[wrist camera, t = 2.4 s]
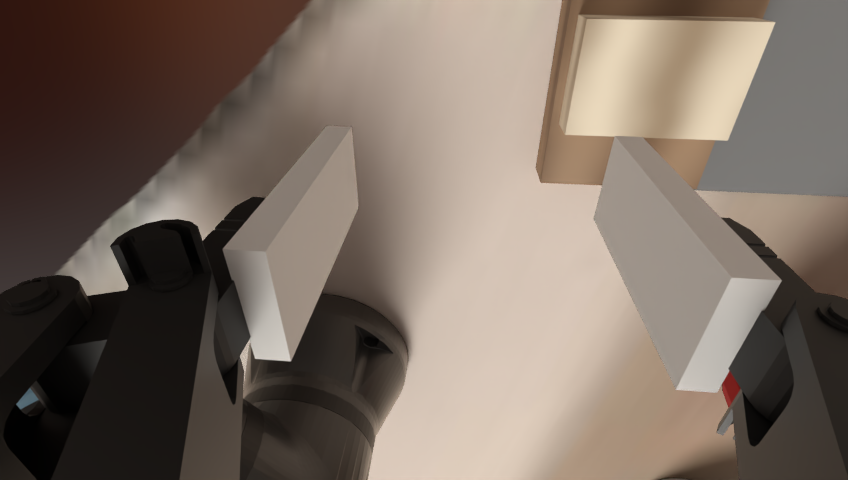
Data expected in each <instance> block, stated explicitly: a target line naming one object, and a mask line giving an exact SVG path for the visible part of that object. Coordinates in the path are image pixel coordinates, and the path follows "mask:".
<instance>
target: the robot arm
mask: <svg viewBox="0 0 848 480" xmlns="http://www.w3.org/2000/svg"><path fill="white" fill-rule="evenodd" d="M358 208H359V205H358V193H357V181H356V169H355V157H354V146H353V134H352V126H326V127H325V128H324V130H323V131H322V132H321V133H320V134H319V135H318V137H317V138H316V139H315V140H314V141H313V143H312V144H311V145H310V146H309V147H308V148H307V150H306V151H305V152H304V153H303V154H302V156H301V157H300V158H299V159H298V160H297V161H296V163H295V164H294V165H293V166H292V167H291V169H290V170H289V171H288V172H287V173H286V175H285V176H284V177H283V178H282V179H281V180H280V182H279V183H278V184H277V185H276V186H275V188H274V189H273V190H272V191H271V192H270V193H269V195H268V196H267V197H266V198H262V197H252V198H250V199H248V200H246V201H244V202H243V203H241V204H239V205H237V206H235V207H234V208H233V209H232V210H231V212H230V213H229V214H228V215H227V216H226V217H225V218H224V221H223V220H222V221H221V222H220V223H219V224H218V225H217V226H216V227H215V230H213V231H212V232H211V233H210V234H209V235H208V236H207V237H206V238H205V239H204V240H203V241H202V238H201V235H200V232H199V229H198V226H196V225H195V224H193V223H192V222H190V221H184V220H179V219H176V220H161V221H156V222H152V223H147V224H144V225H141V226H139V227H136V228H133V229H131V230H129V231H127V232H126V233H124V234H123V235H121V236H119V237H118V238H117V239H116V240H115V241H114V242H113V243H112V244H111V246H110V247H111V249H112V251H113V253H114V255H115V257H116V260H117V262H118V264H119V266H120V268H121V270H122V273H123V275H124V277H125V279H126V281H127V283H128V285H129V287H128V289H127V290H126V291H119V292H112V293H105V294H98V295H91V296H87V295H86V293H85V291H84V290H83V288H82V286H81V284H80V282H79V281H78V280H76V279H75V278H73V277H71V276H62V275H55V276H47V277H39V278H34V279H32V280H27V281H24V282H21V283H19V284H18V285H17V286H15V287H12V288H10V289H8V290H6V291H4V292H3V293H1V294H0V480H368V475H369V469H370V464H371V458H372V452H373V447H374V442H375V437H376V435H377V433H378V431H379V430H380V428H381V426H382V424H383V423H384V421H385V419H386V417H387V416H388V414H389V412H390V411H391V409H392V407H393V405H394V404H395V402H396V400H397V398H398V397H399V395H400V393H401V391H402V388H403V386H404V382H405V377H406V371H407V364H408V354H407V349H406V345H405V343H404V341H403V339H402V337H401V335H400V334H399V332H398V331H397V330H396V328H395V327H394V326H393V325H392V324H391V323H390V322H389V321H388V320H387V319H386V318H384V317H383V316H382V315H381V314H379V313H378V312H376V311H375V310H373V309H371V308H369V307H367V306H365V305H363V304H361V303H359V302H356V301H353V300H350V299H347V298H343V297H339V296H333V295H324V294H321V292H322V290H323V288H324V285H325V283H326V281H327V278H328V276H329V274H330V272H331V269H332V267H333V265H334V262H335V260H336V258H337V256H338V253H339V251H340V249H341V247H342V244H343V242H344V240H345V237H346V235H347V233H348V231H349V228H350V226H351V224H352V222H353V219H354V217H355V215H356V212H357V210H358ZM594 221H595V223H596V225H597V227H598V229H599V231H600V233H601V235H602V237H603V239H604V241H605V243H606V245H607V248H608V250H609V252H610V254H611V256H612V258H613V260H614V262H615V264H616V266H617V268H618V270H619V272H620V275H621V277H622V279H623V281H624V283H625V285H626V287H627V289H628V291H629V293H630V295H631V297H632V300H633V302H634V304H635V306H636V308H637V310H638V312H639V314H640V316H641V318H642V320H643V322H644V324H645V327H646V329H647V331H648V333H649V335H650V337H651V339H652V341H653V343H654V345H655V347H656V349H657V351H658V354H659V356H660V358H661V360H662V362H663V364H664V366H665V368H666V370H667V372H668V374H669V376H670V378H671V381H672V383H673V385H674V387H675V389H676V390H687V391H701V392H714V393H717V392H718V390H719V388H720V386H721V385H722V383H723V381H724V380H725V378H726V376H727V374H728V373H729V371H730V372H731V374H732V375H733V377H734V378H735V380H736V382H737V383H738V385H739V386H740V388H741V389H740V391H739V392H738V394H737V395H736V397H735V399H734V400H733V402H732V403H731V405H730V407H729V408H728V410H727V412H726V413H725V415H724V416H723V418H722V420H721V421H720V423H719V425H718V429H717V433H718V434H721V435H724V433H725V432H726V430H727V429H728V427H729V426H730V425H731V424H733V423H734V432H735V435H734V437H733V439H734V440H735V443H736V453H737V464H738V474H739V480H848V299H844V298H841V297H838V296H834V295H828V294H822V293H816V292H815V291H814V290H812V289H811V288H810V287H809V286H808V285H807V284H806V283H805V282H804V281H803V280H802V279H801V278H800V277H799V276H798V275H797V274H796V273H795V272H794V271H793V270H792V269H791V268H790V267H789V266H788V265H786V264H785V263H784V262H783V261H782V260H781V259H778V258H777V255H776V254H775V253H774V252H773V251H772V250H771V249H770V248H769V247H765V243H764V242H763V241H762V240H761V239H759V238H758V237H757V236H756V235H755V234H754V233H753V232H752V231H751V230H750V229H748V228H746V227H744V226H742V225H741V224H739V223H737V222H735V221H734V220H732V219H730V218H721V217H720V216H719V215H718V214H717V213H716V212H715V211H714V210H713V209H712V208H711V207H710V206H709V205H708V204H707V203H706V202H705V201H704V200H703V199H702V198H701V197H700V196H699V195H698V194H697V193H696V192H695V191H694V190H693V189H692V188H691V187H690V186H689V184H688V183H687V182H686V181H685V180H684V179H683V178H682V177H681V176H680V175H679V174H678V173H677V172H676V171H675V170H674V169H673V168H672V167H671V166H670V165H669V164H668V163H667V162H666V161H665V160H664V159H663V158H662V157H661V156H660V155H659V154H658V153H657V152H656V151H655V150H654V149H653V147H652V146H651V145H650V144H649V143H648V142H647V141H646V140H645V139H644V138H643V137H632V136H615V137H614V141H613V145H612V149H611V152H610V156H609V160H608V164H607V168H606V172H605V176H604V180H603V184H602V188H601V192H600V196H599V200H598V203H597V207H596V211H595V215H594ZM248 340H250V345H249V351H248V359H247V366H246V374H245V381H244V370H243V366H242V362H241V359H240V354H241V353H242V351H243V349H244V347H245V346H246V344H247V342H248ZM243 383H244V389H243Z"/></svg>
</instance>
